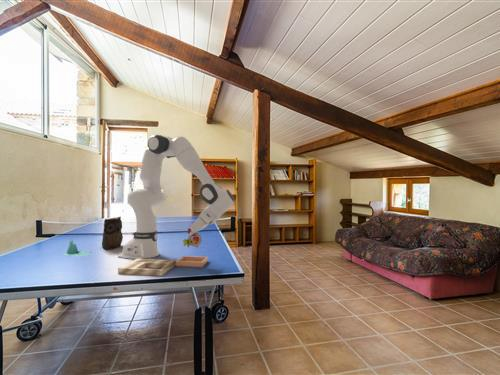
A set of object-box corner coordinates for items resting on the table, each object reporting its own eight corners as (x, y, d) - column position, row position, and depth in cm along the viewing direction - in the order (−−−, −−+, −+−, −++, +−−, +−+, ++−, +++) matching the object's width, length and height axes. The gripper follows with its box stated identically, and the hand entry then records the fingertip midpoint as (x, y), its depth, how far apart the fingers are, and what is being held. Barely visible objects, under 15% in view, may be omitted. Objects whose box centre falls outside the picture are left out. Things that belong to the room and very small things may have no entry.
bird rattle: (197, 251, 142) (182, 244, 143) (207, 232, 144) (192, 225, 145) (194, 251, 136) (179, 243, 137) (205, 231, 138) (189, 224, 139)
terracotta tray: (175, 266, 136) (175, 261, 136) (183, 260, 147) (183, 256, 147) (202, 267, 134) (202, 262, 134) (207, 261, 145) (207, 257, 145)
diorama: (83, 257, 151) (83, 242, 151) (54, 255, 156) (55, 240, 156) (99, 252, 163) (100, 238, 163) (73, 250, 168) (73, 237, 168)
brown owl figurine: (122, 245, 183) (123, 216, 183) (122, 249, 172) (122, 218, 172) (101, 246, 178) (102, 216, 178) (99, 250, 166) (100, 218, 166)
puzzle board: (118, 273, 124) (118, 268, 124) (136, 263, 141) (137, 258, 141) (161, 275, 122) (161, 269, 122) (175, 265, 138) (175, 260, 138)
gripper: (210, 209, 150) (193, 226, 151) (200, 213, 130) (180, 233, 131) (218, 217, 150) (201, 234, 151) (208, 222, 129) (189, 242, 130)
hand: (191, 234), depth 140 cm, fingers closed on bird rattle, 2 cm apart
